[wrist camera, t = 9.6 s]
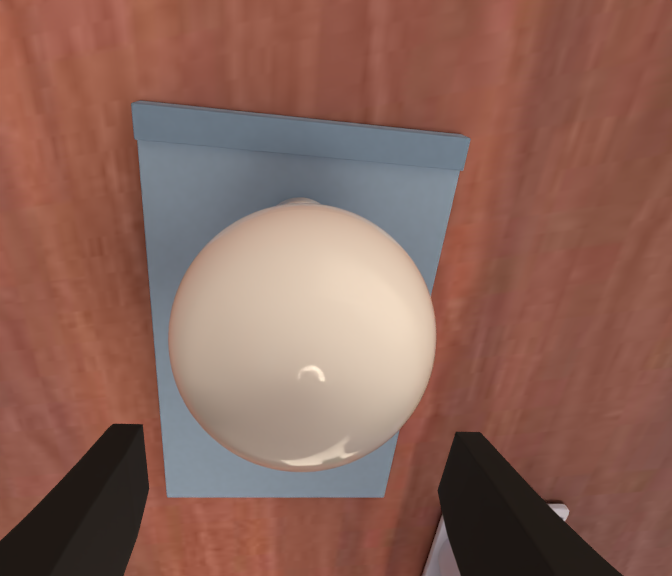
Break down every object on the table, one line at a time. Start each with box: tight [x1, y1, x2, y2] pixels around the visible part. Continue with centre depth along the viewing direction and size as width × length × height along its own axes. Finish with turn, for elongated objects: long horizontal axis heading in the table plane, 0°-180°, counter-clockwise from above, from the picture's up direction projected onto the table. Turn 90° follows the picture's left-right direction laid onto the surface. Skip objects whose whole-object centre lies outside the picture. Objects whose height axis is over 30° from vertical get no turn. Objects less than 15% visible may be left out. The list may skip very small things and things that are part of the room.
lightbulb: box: [168, 197, 436, 472], centre depth 13 cm, size 6×6×11 cm
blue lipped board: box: [131, 101, 470, 497], centre depth 21 cm, size 20×12×1 cm, turn 173°
